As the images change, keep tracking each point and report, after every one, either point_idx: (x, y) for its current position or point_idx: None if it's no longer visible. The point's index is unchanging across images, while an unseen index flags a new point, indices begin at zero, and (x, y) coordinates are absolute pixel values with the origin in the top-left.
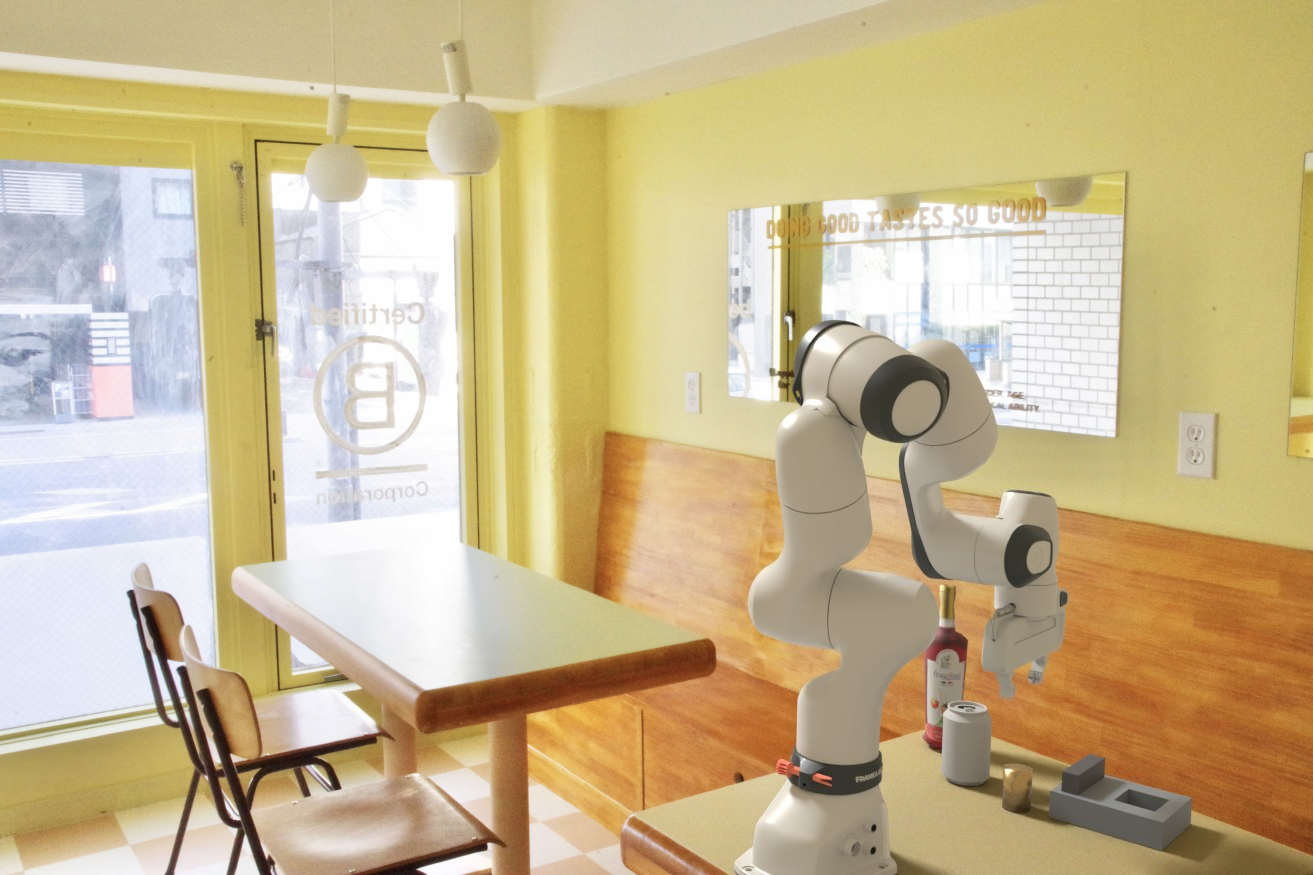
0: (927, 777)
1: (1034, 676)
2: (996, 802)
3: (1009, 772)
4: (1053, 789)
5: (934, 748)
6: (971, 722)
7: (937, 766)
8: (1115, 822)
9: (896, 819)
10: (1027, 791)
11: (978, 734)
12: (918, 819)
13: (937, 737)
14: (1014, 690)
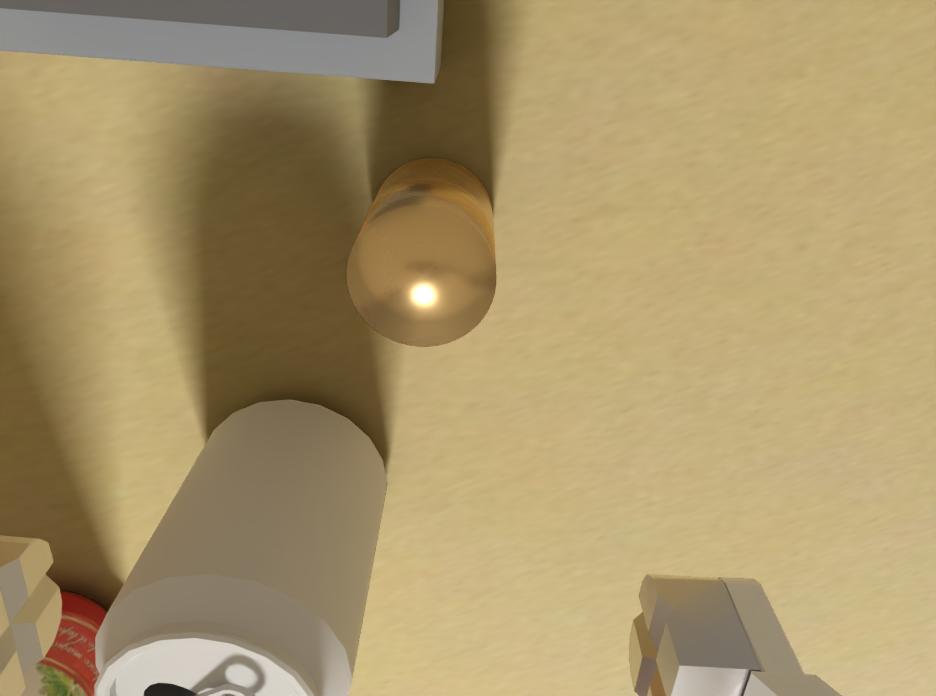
0: (387, 557)
1: (3, 635)
2: None
3: (492, 295)
4: (407, 73)
5: None
6: (319, 626)
7: None
8: None
9: (815, 493)
10: (454, 188)
11: (306, 554)
12: (775, 443)
13: None
14: (694, 622)
